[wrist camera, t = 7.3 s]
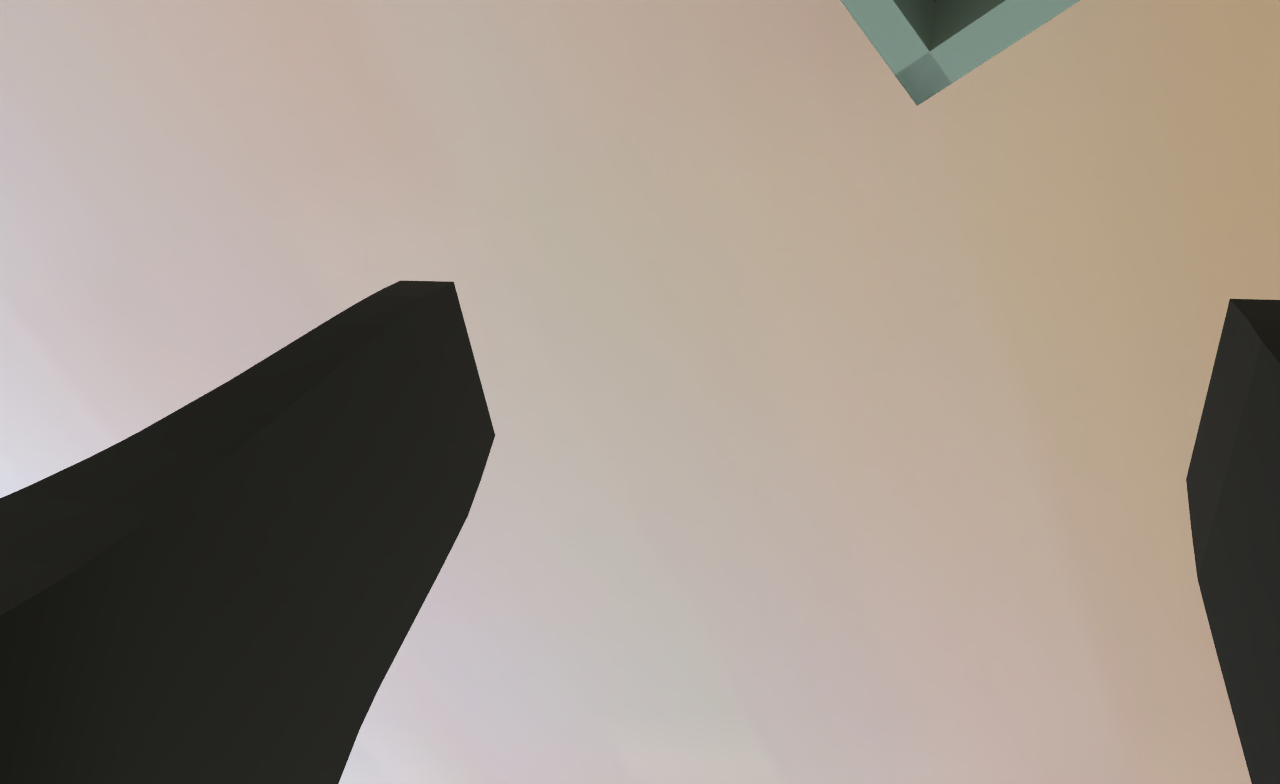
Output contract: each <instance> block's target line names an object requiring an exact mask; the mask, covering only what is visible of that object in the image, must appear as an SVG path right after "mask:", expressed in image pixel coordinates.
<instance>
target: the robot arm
mask: <svg viewBox="0 0 1280 784" xmlns="http://www.w3.org/2000/svg"><path fill="white" fill-rule="evenodd" d="M494 437H495V433H494V430H493V426H492V422H491V419H490V415H489V411H488V408H487V404H486V400H485V396H484V393H483V389H482V385H481V382H480V378H479V374H478V371H477V367H476V363H475V359H474V356H473V352H472V348H471V345H470V341H469V337H468V333H467V330H466V326H465V322H464V319H463V315H462V311H461V308H460V304H459V300H458V296H457V293H456V289H455V285H454V282H435V281H399V282H397V283H395V284H393V285H390V286H388V287H386V288H384V289H382V290H380V291H378V292H376V293H374V294H373V295H371V296H369V297H367V298H365V299H364V300H362V301H360V302H358V303H357V304H355V305H353V306H351V307H350V308H348V309H346V310H345V311H343V312H341V313H340V314H338V315H336V316H335V317H333V318H331V319H330V320H328V321H326V322H325V323H323V324H321V325H320V326H318V327H316V328H315V329H313V330H312V331H310V332H308V333H307V334H305V335H303V336H302V337H300V338H299V339H297V340H295V341H294V342H292V343H290V344H289V345H287V346H286V347H284V348H282V349H281V350H279V351H277V352H276V353H274V354H272V355H271V356H269V357H268V358H266V359H264V360H263V361H261V362H259V363H258V364H256V365H254V366H253V367H251V368H250V369H248V370H246V371H245V372H243V373H241V374H240V375H238V376H236V377H235V378H233V379H231V380H230V381H228V382H226V383H225V384H223V385H221V386H219V387H218V388H216V389H214V390H212V391H211V392H209V393H207V394H205V395H203V396H202V397H200V398H198V399H196V400H195V401H193V402H191V403H189V404H188V405H186V406H184V407H182V408H181V409H179V410H177V411H175V412H174V413H172V414H170V415H168V416H167V417H165V418H163V419H161V420H159V421H158V422H156V423H154V424H152V425H151V426H149V427H147V428H145V429H144V430H142V431H140V432H138V433H136V434H134V435H132V436H131V437H129V438H127V439H125V440H123V441H121V442H119V443H117V444H115V445H113V446H111V447H109V448H107V449H105V450H103V451H101V452H99V453H97V454H95V455H93V456H91V457H89V458H88V459H85V460H83V461H81V462H79V463H77V464H75V465H73V466H71V467H68V468H66V469H64V470H62V471H60V472H58V473H56V474H54V475H51V476H49V477H47V478H45V479H43V480H41V481H39V482H37V483H34V484H32V485H30V486H28V487H26V488H23V489H21V490H19V491H16V492H14V493H12V494H10V495H7V496H5V497H2V498H0V784H338V783H339V781H340V778H341V775H342V773H343V770H344V768H345V765H346V763H347V760H348V757H349V755H350V752H351V750H352V747H353V745H354V742H355V740H356V737H357V734H358V732H359V730H360V727H361V725H362V723H363V721H364V719H365V717H366V714H367V712H368V710H369V708H370V706H371V704H372V702H373V699H374V697H375V695H376V693H377V691H378V689H379V687H380V685H381V683H382V681H383V679H384V677H385V675H386V673H387V672H388V670H389V668H390V666H391V664H392V662H393V660H394V658H395V656H396V654H397V652H398V650H399V649H400V647H401V645H402V643H403V641H404V639H405V637H406V635H407V633H408V631H409V629H410V627H411V626H412V624H413V622H414V620H415V618H416V616H417V614H418V612H419V610H420V608H421V606H422V604H423V603H424V601H425V599H426V597H427V595H428V593H429V591H430V589H431V587H432V585H433V583H434V582H435V580H436V578H437V576H438V574H439V572H440V570H441V568H442V566H443V564H444V562H445V560H446V558H447V556H448V554H449V552H450V550H451V548H452V546H453V544H454V542H455V540H456V538H457V536H458V534H459V532H460V530H461V528H462V526H463V524H464V522H465V520H466V518H467V516H468V513H469V511H470V508H471V505H472V502H473V500H474V497H475V494H476V491H477V489H478V486H479V483H480V481H481V478H482V474H483V471H484V468H485V465H486V462H487V459H488V456H489V453H490V450H491V446H492V443H493V440H494ZM1186 481H1187V491H1188V501H1189V510H1190V520H1191V529H1192V538H1193V546H1194V554H1195V562H1196V569H1197V577H1198V582H1199V586H1200V590H1201V594H1202V598H1203V602H1204V606H1205V610H1206V613H1207V617H1208V621H1209V625H1210V629H1211V633H1212V636H1213V640H1214V644H1215V648H1216V652H1217V656H1218V659H1219V663H1220V667H1221V671H1222V674H1223V678H1224V682H1225V685H1226V689H1227V693H1228V697H1229V700H1230V704H1231V708H1232V711H1233V715H1234V719H1235V723H1236V726H1237V730H1238V734H1239V737H1240V741H1241V745H1242V749H1243V752H1244V756H1245V760H1246V764H1247V767H1248V771H1249V775H1250V778H1251V782H1252V784H1280V300H1252V299H1230V301H1229V305H1228V309H1227V313H1226V318H1225V322H1224V326H1223V330H1222V334H1221V338H1220V342H1219V346H1218V351H1217V355H1216V359H1215V363H1214V367H1213V371H1212V375H1211V380H1210V384H1209V388H1208V392H1207V396H1206V400H1205V404H1204V408H1203V413H1202V417H1201V421H1200V425H1199V429H1198V433H1197V437H1196V441H1195V446H1194V450H1193V454H1192V458H1191V462H1190V466H1189V470H1188V475H1187V479H1186Z"/></svg>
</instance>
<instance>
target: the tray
mask: <svg viewBox="0 0 1280 784" xmlns="http://www.w3.org/2000/svg"><path fill="white" fill-rule="evenodd" d="M1078 1H1080V0H841V2H842V3H843V5H844V6H845V7H846V9H847V10H848V11H849V13H850V14H851V16H852V17H853V18H854V20H855V21H856V22H857V24H858V25H859V27H860V28H861V29H862V31H863V32H864V33H865V35H866V36H867V38H868V39H869V40H870V42H871V43H872V44H873V46H874V47H875V49H876V50H877V51H878V53H879V54H880V55H881V57H882V58H883V60H884V61H885V62H886V64H887V65H888V66H889V68H890V69H891V71H892V72H893V73H894V75H895V76H896V77H897V79H898V80H899V82H900V83H901V84H902V86H903V87H904V88H905V90H906V91H907V93H908V94H909V95H910V97H911V98H912V99H913V101H914V102H915V104H916V105H917V106H918V105H919V104H921V103H922V102H924V101H925V100H927V99H928V98H930V97H931V96H933V95H935V94H936V93H938V92H939V91H941V90H942V89H944V88H945V87H947V86H948V85H950V84H952V83H953V82H955V81H956V80H958V79H959V78H961V77H962V76H964V75H965V74H967V73H969V72H970V71H972V70H973V69H975V68H976V67H978V66H979V65H981V64H982V63H984V62H986V61H987V60H989V59H990V58H992V57H993V56H995V55H996V54H998V53H1000V52H1001V51H1003V50H1004V49H1006V48H1007V47H1009V46H1010V45H1012V44H1013V43H1015V42H1017V41H1018V40H1020V39H1021V38H1023V37H1024V36H1026V35H1027V34H1029V33H1030V32H1032V31H1034V30H1035V29H1037V28H1038V27H1040V26H1041V25H1043V24H1044V23H1046V22H1047V21H1049V20H1051V19H1052V18H1054V17H1055V16H1057V15H1058V14H1060V13H1061V12H1063V11H1064V10H1066V9H1068V8H1069V7H1071V6H1072V5H1074V4H1075V3H1077V2H1078Z"/></svg>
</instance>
